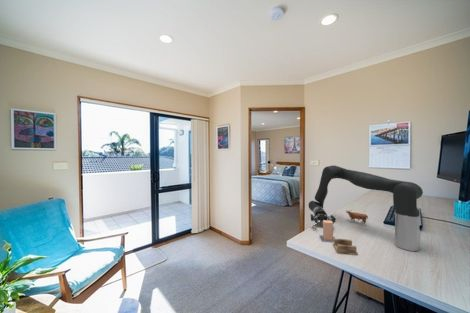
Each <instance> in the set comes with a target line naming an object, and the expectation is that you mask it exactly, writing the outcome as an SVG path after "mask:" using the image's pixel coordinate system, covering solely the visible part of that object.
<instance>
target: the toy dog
mask: <svg viewBox="0 0 470 313" xmlns="http://www.w3.org/2000/svg"><path fill="white" fill-rule="evenodd" d="M345 213H347V215H348V217H349V218H350V221H349V223H352V222H356V221H355V220H358V221H360V220H361V222H360V224H361V225H362V226H366V223H367V220H368V219H369V216H368V215H367V214H366V213H360V212H356V211H353V210H352V209H349V208H347V209H346V211H345Z"/></svg>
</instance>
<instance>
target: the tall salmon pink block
mask: <svg viewBox="0 0 470 313" xmlns="http://www.w3.org/2000/svg"><path fill="white" fill-rule="evenodd" d="M322 235H323V238H324V240H330V241H333V236H334V224H333V222H332V221H328V220H323V221H322Z"/></svg>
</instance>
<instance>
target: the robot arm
mask: <svg viewBox="0 0 470 313" xmlns="http://www.w3.org/2000/svg"><path fill="white" fill-rule="evenodd" d="M333 179H339V180H340V179H341V180H346V181H348V182H349V183H350V184H352V185H354V186H357V187H359V188H363V189H366V190H370V191H371V190H372V191H373V190H374V191H380V192H381V191H382V192H388V193H392V202H393V203H392V204H393V208H394V245H395V246H396V247H398V248H400V249H402V250H405V251H410V252H418V251H419V250H420V249H421V229H420V213H421V212H420V210H419V209H418V206H417V202H418V200H417V199H420V198H421V197H422V196H423V194H424V191H423V188H422V187H421V186H420V185H418V184H417V183H415V182H411V181H404V180H403V181H402V180H396V179H391V178H387V177H383V176H381V175H380V176H379V175H377V174H376V175H375V174H372V173H367V172H364V171H358V170H352V169H347V168H344V167H341V166H338V165H334V164H333V165H329V166H328V165H327V166H325V167H324V168H323V169H322V172H321V177H320V180H319V183H318V184H319V185H318V188H317V190H316V193H315V194H314V200H310V201H309V202H308V208H309V211H311V212H312V213H313V214H311V213H310V220H311V222H314V223H315V224H319V222H323V220H328V221H332V222H333V225H334V224H335V223H336V218H335V216H334V215H332V214H331V215H328V214H327V212H326V211H325V209H324V203H325V200H326V197H327V195H328V192H329V190H328V189H329V184H330V182H331V181H332V180H333Z"/></svg>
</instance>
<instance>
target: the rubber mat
mask: <svg viewBox="0 0 470 313" xmlns="http://www.w3.org/2000/svg"><path fill="white" fill-rule="evenodd" d="M334 238H335V236H334V235H333V241H330V240H324V238H323V234H322V235H321V234H319V239H320V241H321V242H322V243H332V244H334ZM335 239H336V238H335Z"/></svg>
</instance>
